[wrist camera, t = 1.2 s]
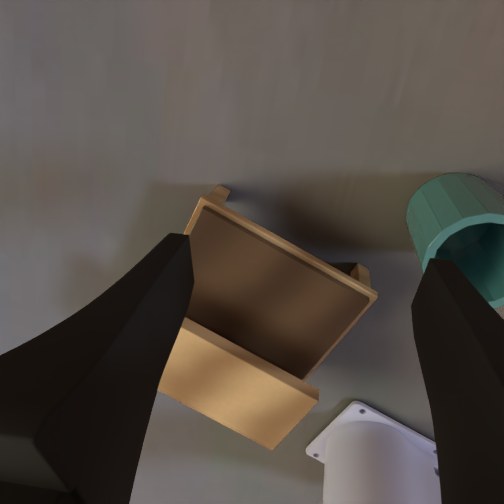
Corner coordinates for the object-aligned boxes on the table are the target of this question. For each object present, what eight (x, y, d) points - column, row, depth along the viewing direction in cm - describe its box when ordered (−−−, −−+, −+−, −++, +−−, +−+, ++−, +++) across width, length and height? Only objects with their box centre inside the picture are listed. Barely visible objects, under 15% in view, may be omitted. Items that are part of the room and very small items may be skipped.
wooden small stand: (377, 269, 27) (385, 330, 21) (284, 381, 33) (272, 451, 28) (214, 177, 26) (179, 214, 21) (151, 309, 33) (110, 365, 27)
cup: (518, 200, 23) (573, 250, 18) (456, 265, 26) (487, 327, 20) (443, 156, 23) (474, 193, 17) (388, 226, 26) (400, 277, 20)
